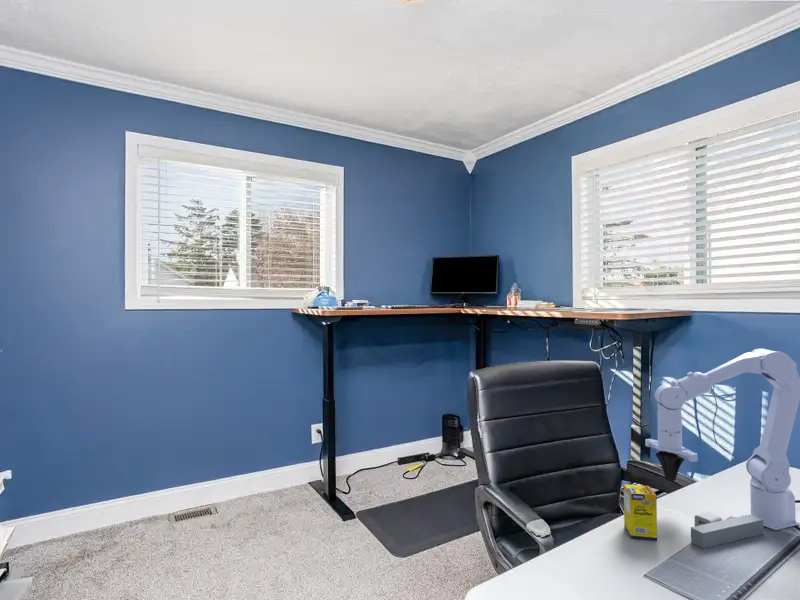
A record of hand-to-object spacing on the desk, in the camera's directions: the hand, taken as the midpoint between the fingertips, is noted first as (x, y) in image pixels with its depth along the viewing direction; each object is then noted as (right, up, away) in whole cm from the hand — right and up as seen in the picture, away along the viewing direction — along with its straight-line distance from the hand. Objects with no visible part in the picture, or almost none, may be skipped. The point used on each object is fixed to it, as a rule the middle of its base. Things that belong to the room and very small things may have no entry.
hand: (670, 480), depth 124 cm
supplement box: (-15, -9, -12) cm, 21 cm away
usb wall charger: (+4, -8, -11) cm, 14 cm away
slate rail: (+5, -8, -15) cm, 18 cm away
